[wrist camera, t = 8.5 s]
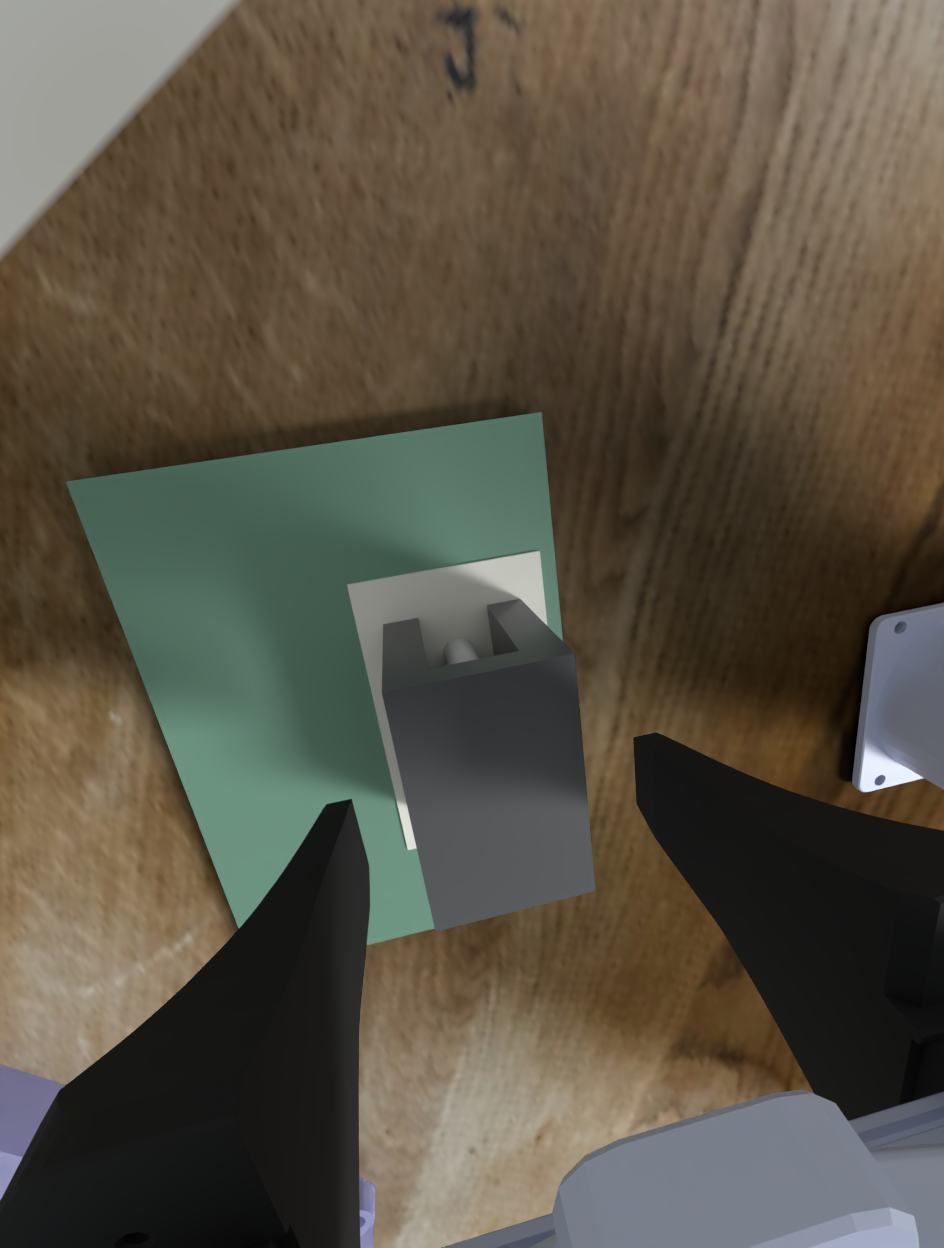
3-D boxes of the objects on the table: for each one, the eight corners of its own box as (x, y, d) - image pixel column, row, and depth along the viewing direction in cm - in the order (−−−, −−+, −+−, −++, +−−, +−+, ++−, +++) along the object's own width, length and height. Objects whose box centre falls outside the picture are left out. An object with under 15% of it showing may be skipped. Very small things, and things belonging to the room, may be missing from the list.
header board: (532, 415, 16) (575, 401, 12) (577, 871, 21) (615, 953, 18) (86, 480, 14) (-14, 486, 11) (262, 949, 20) (235, 1054, 17)
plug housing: (520, 598, 16) (574, 653, 12) (542, 782, 19) (595, 891, 14) (383, 624, 16) (381, 692, 11) (422, 809, 18) (435, 931, 13)
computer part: (239, 1320, 28) (414, 1150, 26) (215, 1464, 24) (419, 1276, 22) (-497, 1182, 18) (-307, 900, 16) (-742, 1381, 14) (-529, 1040, 12)
